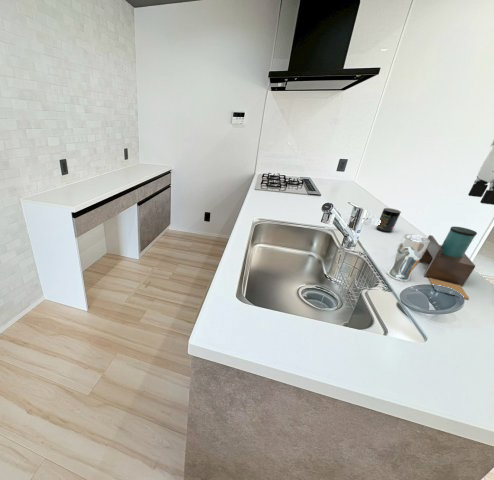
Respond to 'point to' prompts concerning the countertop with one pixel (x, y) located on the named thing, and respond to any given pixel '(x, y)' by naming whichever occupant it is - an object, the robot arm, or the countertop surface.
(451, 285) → the cork mat
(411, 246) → the beer glass
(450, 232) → the spice tin
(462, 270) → the shelf
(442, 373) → the countertop surface
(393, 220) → the supplement container
